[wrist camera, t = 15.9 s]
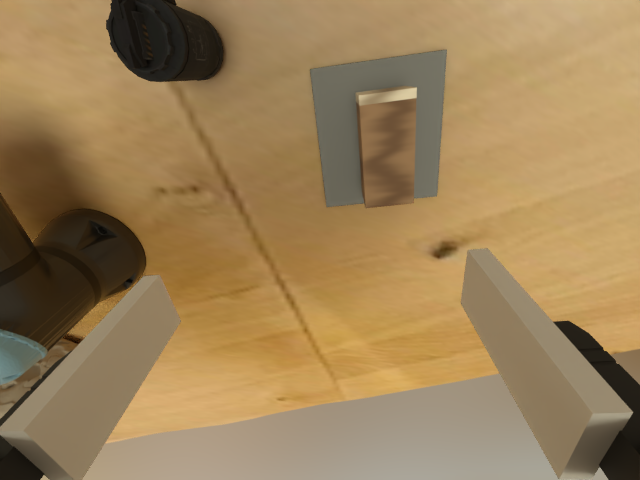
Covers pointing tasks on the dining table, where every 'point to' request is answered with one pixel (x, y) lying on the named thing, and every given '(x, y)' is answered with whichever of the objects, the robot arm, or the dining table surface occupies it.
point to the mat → (342, 129)
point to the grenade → (163, 41)
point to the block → (387, 145)
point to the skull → (32, 375)
